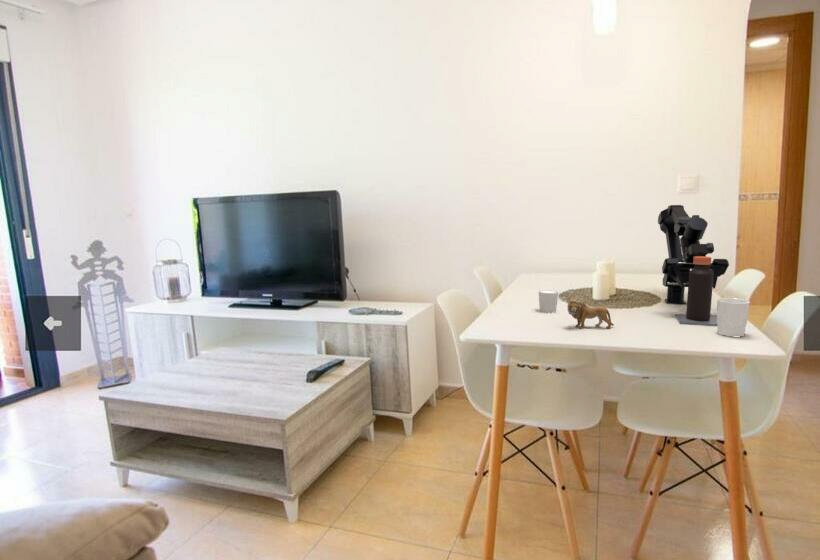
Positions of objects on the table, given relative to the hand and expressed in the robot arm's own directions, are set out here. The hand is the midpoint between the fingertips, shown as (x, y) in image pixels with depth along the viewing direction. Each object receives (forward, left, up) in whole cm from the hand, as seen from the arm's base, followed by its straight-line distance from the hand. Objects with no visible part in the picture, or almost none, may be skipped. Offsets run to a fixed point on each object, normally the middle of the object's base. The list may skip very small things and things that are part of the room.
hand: (698, 287), depth 163 cm
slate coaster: (+2, 0, -11) cm, 11 cm away
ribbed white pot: (0, -47, -11) cm, 48 cm away
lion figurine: (+21, -33, -11) cm, 40 cm away
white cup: (+17, +6, -11) cm, 21 cm away
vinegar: (+2, 0, -10) cm, 10 cm away
